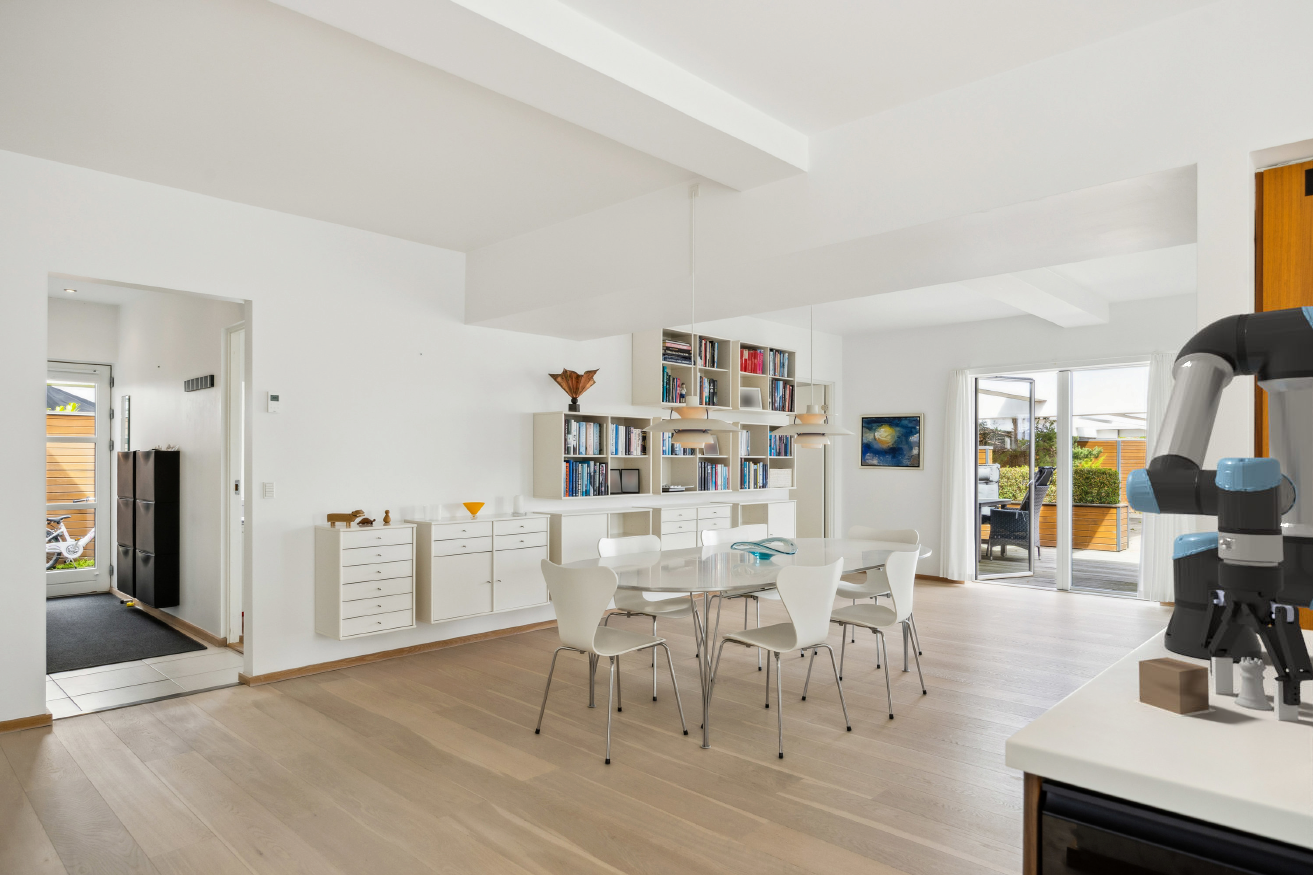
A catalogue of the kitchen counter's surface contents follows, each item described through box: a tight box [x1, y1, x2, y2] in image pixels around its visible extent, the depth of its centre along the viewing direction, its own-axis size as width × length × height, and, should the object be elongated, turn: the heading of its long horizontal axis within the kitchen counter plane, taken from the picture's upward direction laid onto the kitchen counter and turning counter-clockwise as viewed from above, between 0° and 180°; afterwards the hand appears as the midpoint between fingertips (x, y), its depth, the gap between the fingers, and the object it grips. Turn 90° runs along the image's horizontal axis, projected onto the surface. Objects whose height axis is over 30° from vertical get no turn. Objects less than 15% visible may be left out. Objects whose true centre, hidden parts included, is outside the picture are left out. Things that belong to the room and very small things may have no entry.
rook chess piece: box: [1234, 657, 1273, 711], centre depth 110 cm, size 4×4×8 cm
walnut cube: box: [1138, 657, 1210, 715], centre depth 110 cm, size 6×6×6 cm
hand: (1253, 712), depth 110 cm, fingers open, 11 cm apart
